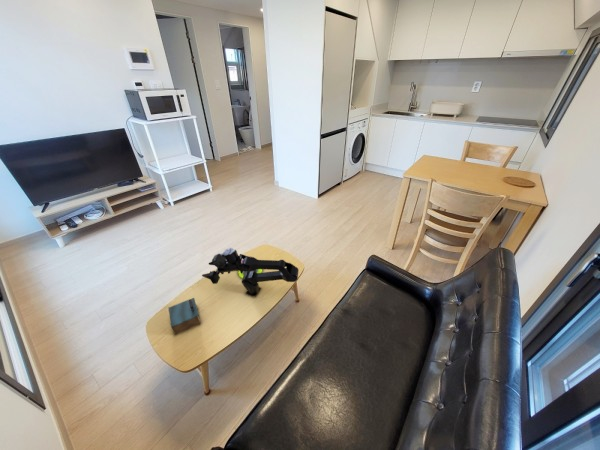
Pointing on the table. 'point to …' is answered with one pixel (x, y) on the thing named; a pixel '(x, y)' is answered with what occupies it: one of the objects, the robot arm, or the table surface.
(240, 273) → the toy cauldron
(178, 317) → the lid
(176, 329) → the box
